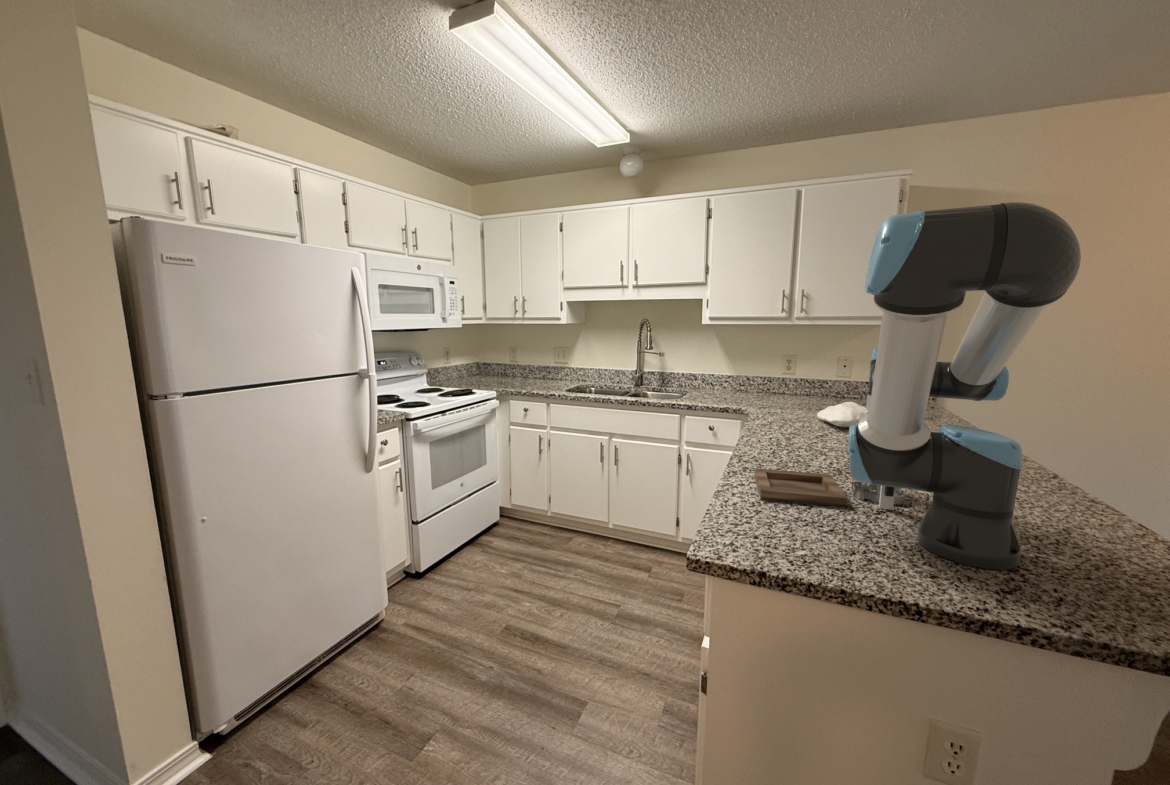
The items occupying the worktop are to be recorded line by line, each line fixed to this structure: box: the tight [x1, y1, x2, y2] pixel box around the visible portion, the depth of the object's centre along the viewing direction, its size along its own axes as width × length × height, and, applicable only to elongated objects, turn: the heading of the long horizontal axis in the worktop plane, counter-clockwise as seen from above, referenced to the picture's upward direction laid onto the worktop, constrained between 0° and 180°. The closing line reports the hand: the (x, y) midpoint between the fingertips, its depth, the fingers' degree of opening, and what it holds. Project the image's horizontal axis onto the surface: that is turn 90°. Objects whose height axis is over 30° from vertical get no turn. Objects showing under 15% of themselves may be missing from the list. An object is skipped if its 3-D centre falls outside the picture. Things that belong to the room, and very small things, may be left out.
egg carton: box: [850, 479, 905, 506], centre depth 112 cm, size 11×8×4 cm
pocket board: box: [754, 468, 849, 509], centre depth 117 cm, size 17×19×2 cm
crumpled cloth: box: [816, 401, 869, 428], centre depth 189 cm, size 24×35×9 cm
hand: (875, 497), depth 112 cm, fingers open, 13 cm apart
